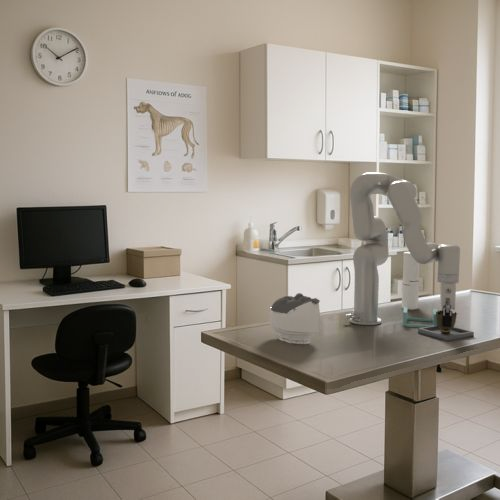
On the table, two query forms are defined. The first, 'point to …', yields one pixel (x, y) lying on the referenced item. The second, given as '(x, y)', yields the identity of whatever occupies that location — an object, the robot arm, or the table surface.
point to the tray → (453, 335)
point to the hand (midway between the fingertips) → (446, 323)
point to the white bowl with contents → (295, 318)
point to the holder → (418, 319)
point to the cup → (439, 322)
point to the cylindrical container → (410, 282)
